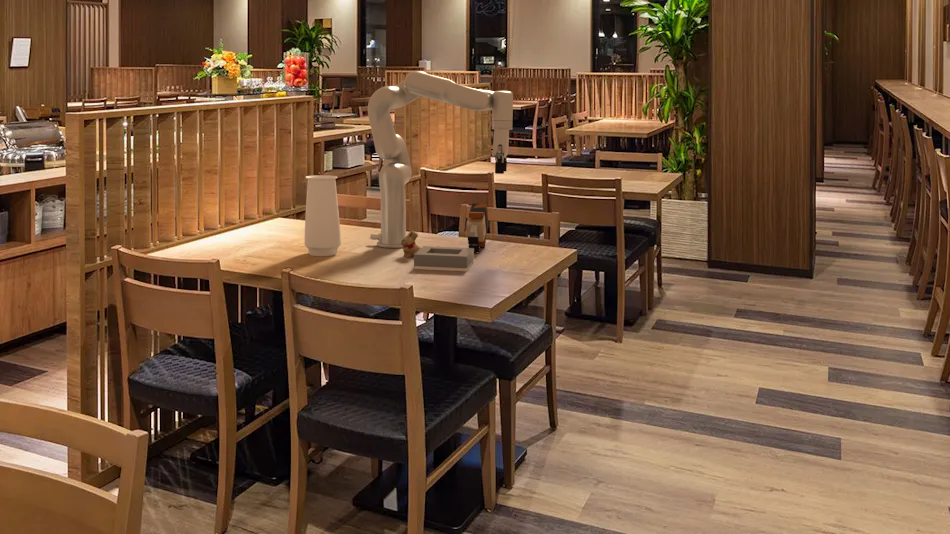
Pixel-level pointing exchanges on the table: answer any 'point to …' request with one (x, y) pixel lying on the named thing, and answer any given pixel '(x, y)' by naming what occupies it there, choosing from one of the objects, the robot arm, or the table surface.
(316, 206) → the vase
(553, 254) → the table surface
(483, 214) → the toy
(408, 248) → the chocolate bunny
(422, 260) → the well
